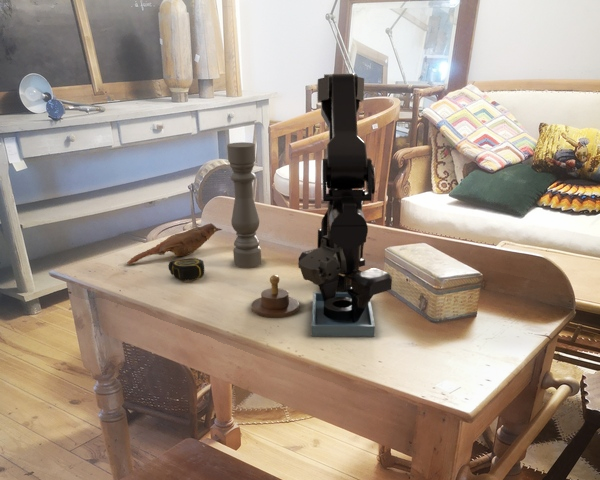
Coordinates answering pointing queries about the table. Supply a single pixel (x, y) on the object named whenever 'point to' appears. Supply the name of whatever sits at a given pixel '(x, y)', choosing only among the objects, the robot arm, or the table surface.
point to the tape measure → (187, 268)
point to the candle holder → (244, 205)
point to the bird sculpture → (181, 242)
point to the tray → (340, 321)
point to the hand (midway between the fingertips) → (341, 315)
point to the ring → (338, 308)
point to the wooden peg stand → (275, 302)
